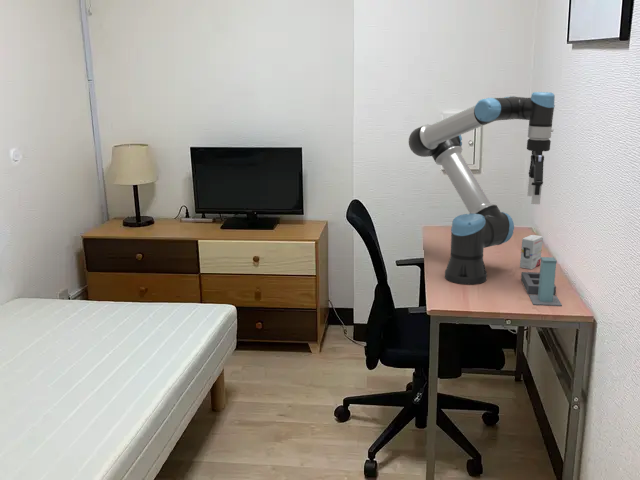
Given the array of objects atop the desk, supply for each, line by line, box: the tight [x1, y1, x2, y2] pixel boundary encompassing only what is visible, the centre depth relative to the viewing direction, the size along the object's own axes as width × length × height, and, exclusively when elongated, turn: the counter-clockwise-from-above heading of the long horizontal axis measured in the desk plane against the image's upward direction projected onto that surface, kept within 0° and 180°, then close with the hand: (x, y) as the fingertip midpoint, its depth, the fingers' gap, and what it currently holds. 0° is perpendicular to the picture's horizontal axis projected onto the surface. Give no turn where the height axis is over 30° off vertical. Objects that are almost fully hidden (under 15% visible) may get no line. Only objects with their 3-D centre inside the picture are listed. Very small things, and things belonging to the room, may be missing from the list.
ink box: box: [519, 234, 544, 270], centre depth 248 cm, size 9×5×12 cm, turn 137°
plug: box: [538, 256, 558, 302], centre depth 210 cm, size 4×4×14 cm
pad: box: [528, 294, 563, 307], centre depth 211 cm, size 9×9×1 cm
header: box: [520, 271, 557, 296], centre depth 225 cm, size 16×9×3 cm, turn 171°
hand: (533, 200), depth 222 cm, fingers open, 13 cm apart
